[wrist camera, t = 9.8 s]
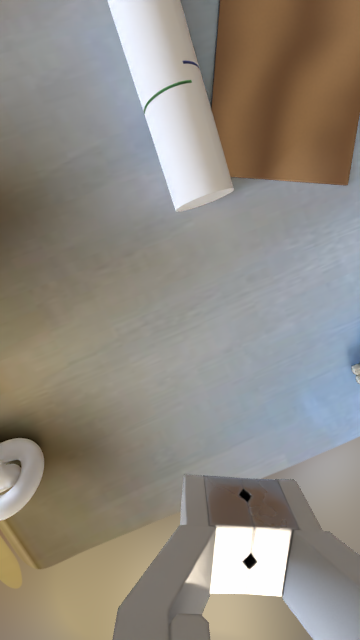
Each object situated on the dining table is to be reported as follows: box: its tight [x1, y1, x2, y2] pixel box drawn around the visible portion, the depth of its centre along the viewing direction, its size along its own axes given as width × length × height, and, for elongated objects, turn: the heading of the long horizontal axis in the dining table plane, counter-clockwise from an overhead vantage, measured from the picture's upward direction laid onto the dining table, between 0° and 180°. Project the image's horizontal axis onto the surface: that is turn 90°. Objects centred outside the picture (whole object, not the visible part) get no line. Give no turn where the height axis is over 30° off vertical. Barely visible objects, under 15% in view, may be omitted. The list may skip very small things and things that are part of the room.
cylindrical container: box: [107, 0, 234, 212], centre depth 34 cm, size 7×7×25 cm
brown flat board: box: [211, 0, 360, 185], centre depth 36 cm, size 18×29×1 cm, turn 176°
